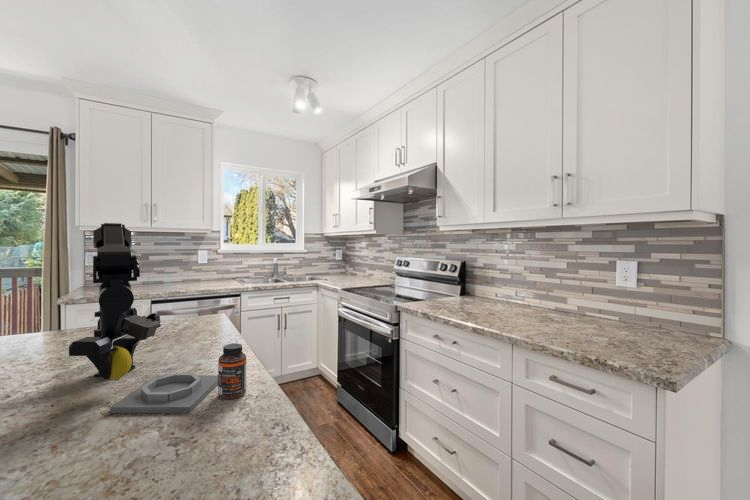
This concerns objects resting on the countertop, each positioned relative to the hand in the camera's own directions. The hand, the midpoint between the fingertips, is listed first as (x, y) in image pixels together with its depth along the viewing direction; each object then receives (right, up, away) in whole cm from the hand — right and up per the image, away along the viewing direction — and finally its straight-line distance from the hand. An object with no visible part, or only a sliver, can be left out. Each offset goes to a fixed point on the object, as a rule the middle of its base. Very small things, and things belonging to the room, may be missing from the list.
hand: (116, 373), depth 78 cm
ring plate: (+13, -5, 0) cm, 14 cm away
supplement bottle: (+26, -5, 0) cm, 27 cm away
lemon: (0, -2, 0) cm, 2 cm away
